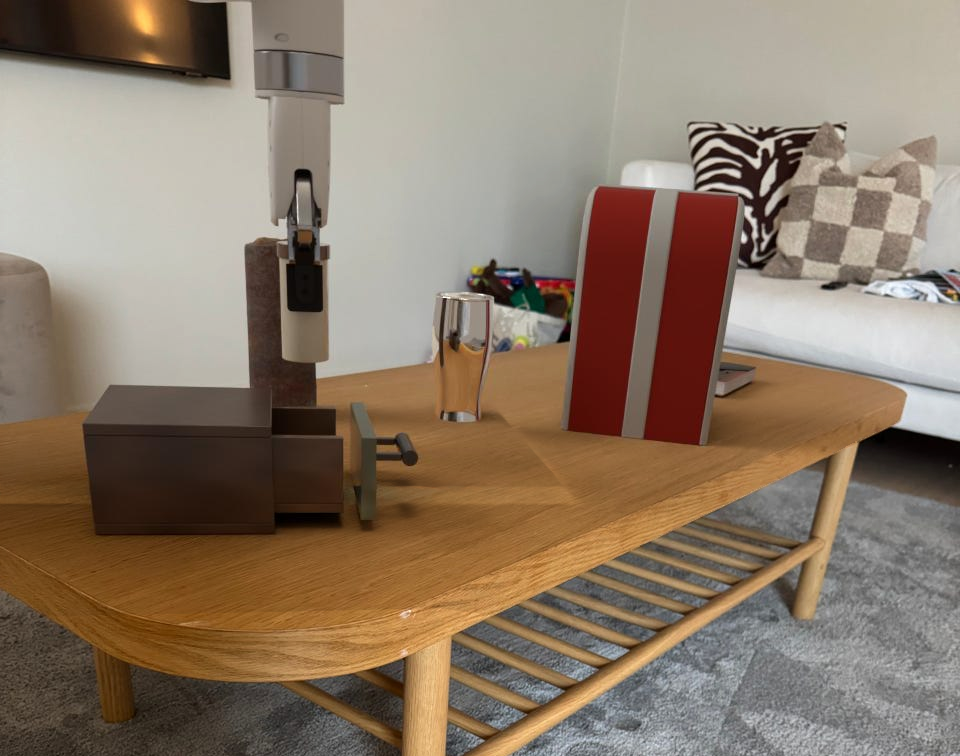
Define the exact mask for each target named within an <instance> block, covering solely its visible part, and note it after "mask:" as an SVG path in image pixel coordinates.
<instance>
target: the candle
mask: <svg viewBox="0 0 960 756" xmlns="http://www.w3.org/2000/svg"><path fill="white" fill-rule="evenodd" d="M278 241H287V238H282V239H281V238H277V237H265V236H261V237H257V238H256V239H255V240H254V241H252V242H249V243H245V245H244V247H243V248H244V250H243V251H244V252H243V253H244V254H243V255H244V273H245V275H244V276H245V298H246V301H245V302H246V318H247V319H246V323H247V325H246V326H247V347H248V349H247V351H248V377H249V378H248V381H249V388H271V389H272V405H274V406H318V401H317V400H318V397H317V394H318V393H317V391H318V388H317V387H318V386H317V363H300V362H292V361H287V360H285V359H283V358H282V335H281V303H280V270H279V257H278V256H277V246H276V243H277V242H278Z"/></svg>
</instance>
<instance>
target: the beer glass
mask: <svg viewBox="0 0 960 756" xmlns="http://www.w3.org/2000/svg"><path fill="white" fill-rule="evenodd" d="M434 295H435V296H434V297H435V298H434V306H433V314H432V321H431V322H432V323H431V355H432V356H431V357H432V363H433V364H432V365H433V372H434V380H435V389H436V395H435V396H436V400H435V408H434V413H433V416H434V417H435V418H436V419H439V420H442V421H447V422H454V423H472V422H479V421H481V420H483V419H482V418H483V415H482V401H483V394H484V393H483V392H484V388H485V384H486V379H487V376H488V371H489V367H490V364H491V357H492V352H493V348H494V347H493V345H494V335H495V333H494V332H495V297H494V296H493V295H489V294H485V293H479V292H470V291H439V292H436V293H435V294H434Z"/></svg>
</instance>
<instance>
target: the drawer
mask: <svg viewBox="0 0 960 756" xmlns="http://www.w3.org/2000/svg"><path fill="white" fill-rule="evenodd" d="M349 405H350V407H349V410H350V413H349V417H350V418H349V421H350V423H349V470H350V474H351V479H352V483H353V485H352V488H353V493H354V496H355V501H356V506H357V509H358V513H359V517H360V518H359V519H360V520H361V521H376V505H377V503H376V501H377V500H376V499H377V496H376V495H377V462H379V461H380V462H402V464H403V465H405V466H406V467H413V466H415V465H417V463H418V461H419V455H418V452H417V450H416V448H415V447H414V444H413V442H412V440H411V438H410V436H409V435H408V433H406V432H398V433H397V434H396V435H395V436H392V437H391V436H376V433H375V430H374V427H373V424H372V423H371V419H370V417H369V414H368V411H367V409H366V406H365V403H364V402H363V401H362V402H359V401H356V402H355V401H351V402H350V403H349ZM377 446H395V447H396V449H397V452H395V451H390V452H387V451H386V452H385V451H384V452H383V451H382V452H381V451H377V450H378V449H377ZM272 456H273V487H274V513H275V514H308V513H309V514H323V513H324V514H326V513H327V514H337V513H338V514H342V513H344V436H343V435H337V408H336V406H324V405H323V406H318V405H317V406H274V405H272Z"/></svg>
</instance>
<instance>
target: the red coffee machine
mask: <svg viewBox="0 0 960 756" xmlns="http://www.w3.org/2000/svg"><path fill="white" fill-rule="evenodd" d="M586 198H587V199H586V202H585V208H584V211H583V212H584V213H583V219H582V225H581V232H580V240H579V247H578V248H579V249H578V258H577V265H576V266H577V268H576V277H575V287H574V295H573V296H574V298H573V308H572V316H571V324H570V325H571V326H570V337H569V344H568V345H569V346H568V354H567V355H568V357H567V366H566V375H565V376H566V377H565V385H564V395H563V405H562V413H561V414H562V415H561V424H560V429H561V430H563V431H570V432H577V433H578V432H580V433H587V434H588V433H589V434H597V435H606V436H615V437H622V438H629V439H636V440H637V439H638V440H650V441H659V442H668V443H677V444H686V445H693V446H694V445H695V446H698V445H699V446H706V445H707V444H708V438H709V432H710V426H711V421H712V413H713V408H714V403H715V398H716V395H715V392H716V386H717V380H718V374H719V368H720V362H722V356H723V350H724V345H725V337H726V333H727V328H728V327H727V326H728V322H729V315H730V311H731V309H730V308H731V303H732V298H733V292H734V286H735V280H736V274H737V267H738V263H739V262H738V261H739V255H740V249H741V243H742V238H743V237H742V236H743V229H744V223H745V214H746V213H745V212H746V207H745V201H744V199H743V198H742V197H741V196H739V193H733V192H721V191H720V192H719V191H706V190H695V189H694V190H693V189H682V188H681V189H680V188H665V187H664V188H663V187H651V186H637V185H624V184H608V183H598V185H597V186H594V188H593V189H592V190H591V191H590V193H589V194H588V196H587V197H586Z"/></svg>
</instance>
